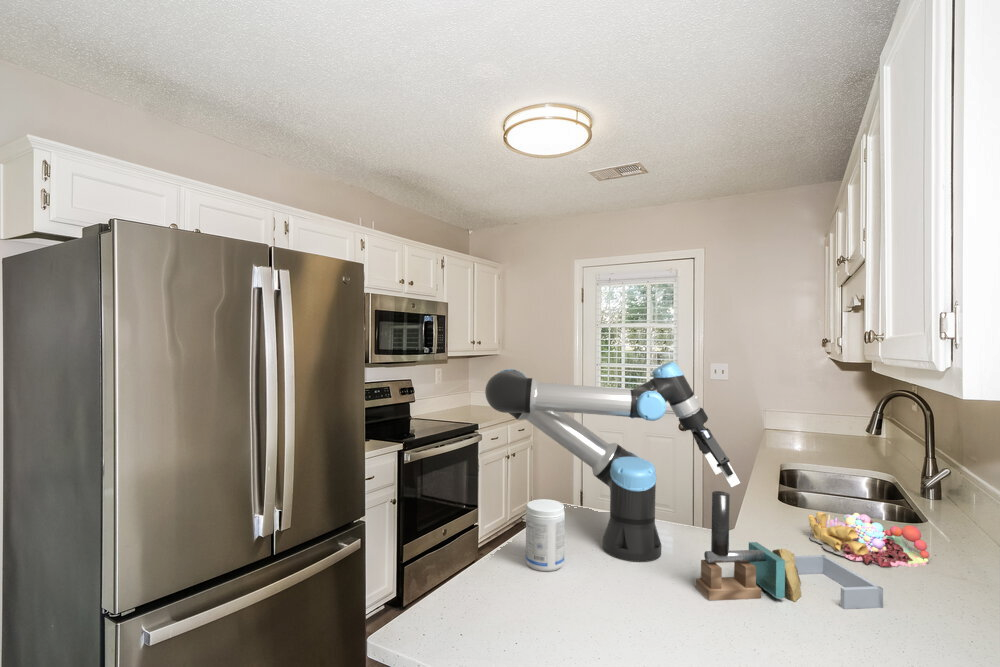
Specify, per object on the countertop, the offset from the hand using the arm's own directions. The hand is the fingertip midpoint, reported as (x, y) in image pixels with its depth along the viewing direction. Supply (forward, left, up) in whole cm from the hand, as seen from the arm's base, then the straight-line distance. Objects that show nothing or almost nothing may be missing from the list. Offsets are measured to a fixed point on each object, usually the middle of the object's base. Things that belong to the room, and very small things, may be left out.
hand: (727, 478), depth 147 cm
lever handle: (-15, -30, -16) cm, 38 cm away
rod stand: (-18, -30, -17) cm, 39 cm away
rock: (-2, -30, -17) cm, 35 cm away
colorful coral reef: (+34, -10, -18) cm, 40 cm away
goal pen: (+8, -30, -17) cm, 36 cm away
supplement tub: (-56, -14, -17) cm, 60 cm away
